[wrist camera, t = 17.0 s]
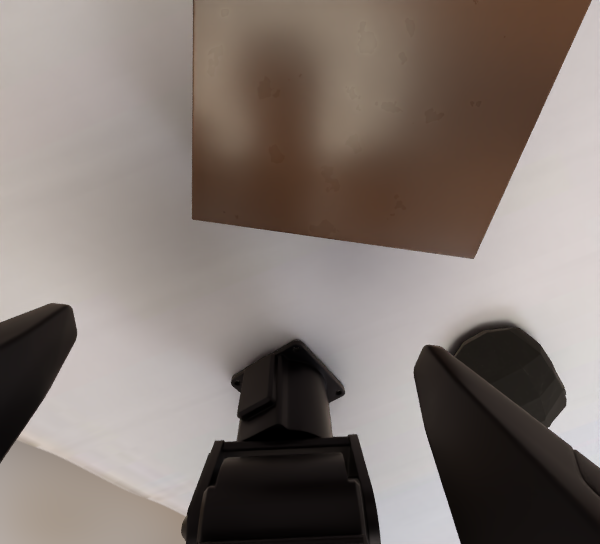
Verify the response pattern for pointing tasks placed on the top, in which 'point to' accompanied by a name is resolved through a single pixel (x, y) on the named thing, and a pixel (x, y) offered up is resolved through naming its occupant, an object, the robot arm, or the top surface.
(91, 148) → the top surface
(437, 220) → the cabinet
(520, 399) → the gaming mouse
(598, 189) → the top surface
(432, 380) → the robot arm
